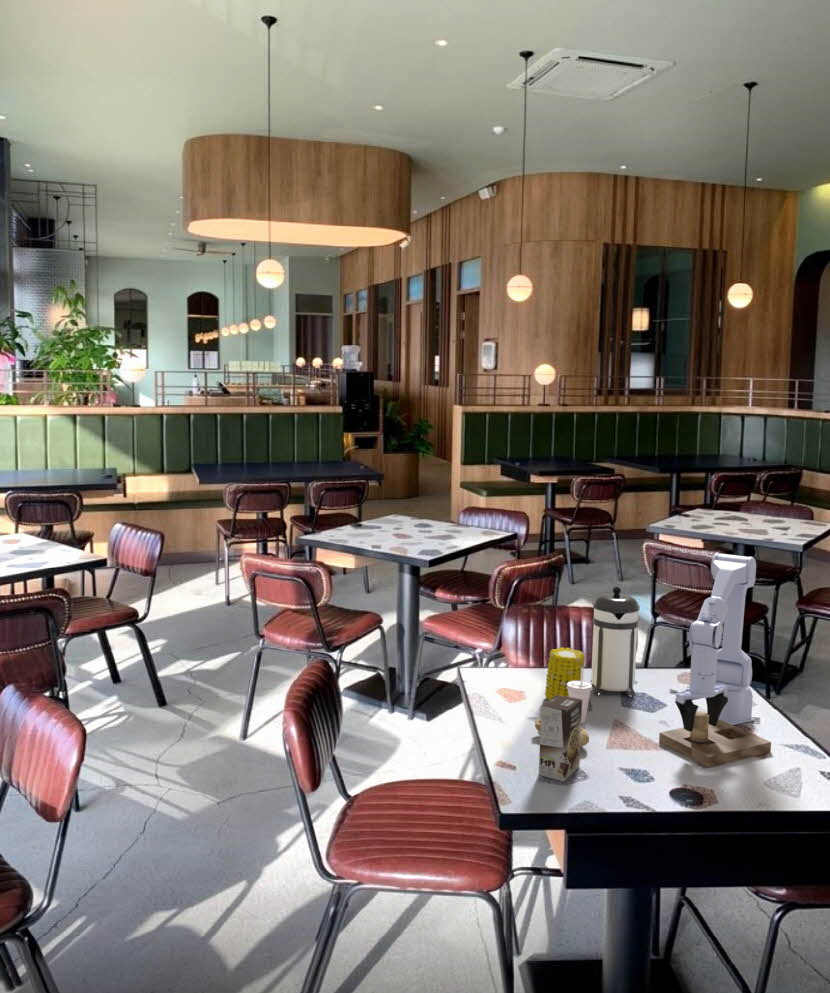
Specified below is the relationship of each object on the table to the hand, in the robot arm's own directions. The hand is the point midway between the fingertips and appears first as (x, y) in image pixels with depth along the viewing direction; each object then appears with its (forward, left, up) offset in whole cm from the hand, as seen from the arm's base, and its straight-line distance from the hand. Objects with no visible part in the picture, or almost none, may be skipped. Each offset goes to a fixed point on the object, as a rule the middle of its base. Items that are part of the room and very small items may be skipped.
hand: (700, 727), depth 215 cm
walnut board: (-5, 0, -6) cm, 8 cm away
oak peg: (0, 0, -6) cm, 6 cm away
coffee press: (-10, -44, -6) cm, 46 cm away
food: (+8, -42, -6) cm, 43 cm away
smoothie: (+14, -28, -6) cm, 32 cm away
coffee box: (+37, -5, -6) cm, 38 cm away
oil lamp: (+27, -18, -6) cm, 33 cm away
